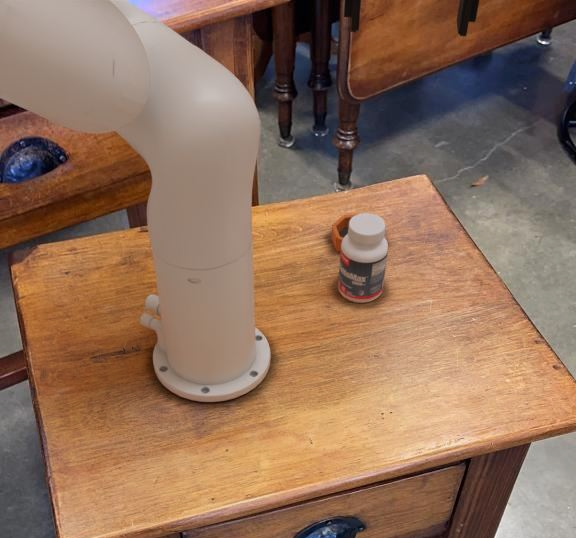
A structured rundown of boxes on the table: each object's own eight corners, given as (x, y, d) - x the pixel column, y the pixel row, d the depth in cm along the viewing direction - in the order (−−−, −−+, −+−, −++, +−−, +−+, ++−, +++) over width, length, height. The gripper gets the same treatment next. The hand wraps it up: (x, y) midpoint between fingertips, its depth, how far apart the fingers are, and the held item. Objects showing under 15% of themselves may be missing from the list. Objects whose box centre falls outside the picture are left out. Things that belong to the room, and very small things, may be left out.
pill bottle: (328, 290, 97) (332, 223, 90) (356, 269, 99) (362, 203, 92) (363, 310, 95) (370, 244, 87) (391, 288, 97) (400, 222, 90)
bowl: (323, 245, 102) (324, 232, 100) (348, 221, 105) (349, 208, 103) (365, 262, 100) (366, 250, 98) (390, 237, 103) (391, 224, 101)
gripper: (548, -230, 63) (500, 12, 77) (321, -236, 64) (314, 5, 78) (561, -200, 59) (507, 51, 73) (317, -207, 59) (310, 43, 73)
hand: (407, 27), depth 75 cm, fingers open, 9 cm apart
